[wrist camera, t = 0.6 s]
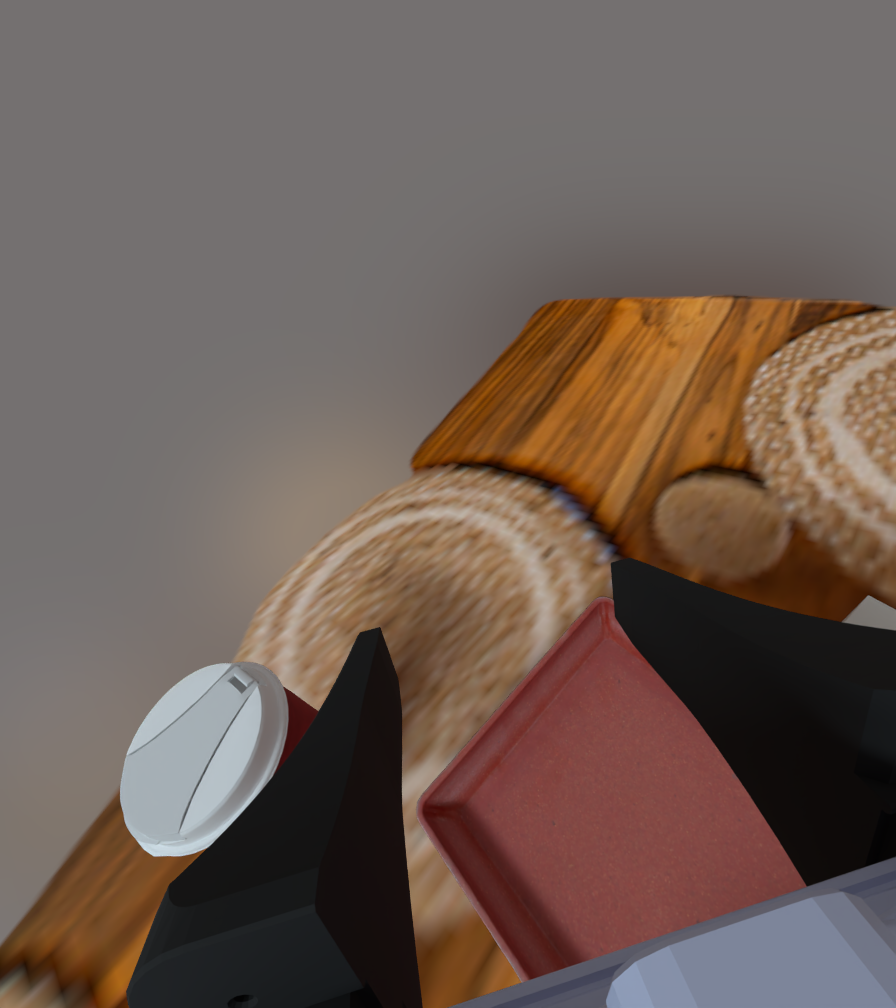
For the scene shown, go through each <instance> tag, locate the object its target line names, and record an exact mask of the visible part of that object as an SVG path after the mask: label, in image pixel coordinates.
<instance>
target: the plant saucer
mask: <svg viewBox="0 0 896 1008" xmlns="http://www.w3.org/2000/svg"><path fill="white" fill-rule="evenodd" d="M416 814H417V819H418V821H419V823H420V825H421V826H422V828H423V829H424V831H425V833H426V834H427V836H428V837H429V839H430V840H431V842H432V843H433V845H434V846H435V848H436V849H437V851H438V852H439V854H440V855H441V857H442V859H443V861H444V862H445V864H446V865H447V867H448V868H449V870H450V871H451V873H452V874H453V876H454V877H455V879H456V881H457V882H458V884H459V885H460V887H461V888H462V890H463V891H464V893H465V894H466V896H467V897H468V899H469V900H470V902H471V904H472V905H473V907H474V909H475V910H476V912H477V913H478V915H479V916H480V917H481V919H482V921H483V922H484V924H485V925H486V927H487V928H488V930H489V931H490V933H491V934H492V936H493V938H494V939H495V941H496V943H497V944H498V946H499V947H500V949H501V950H502V952H503V953H504V955H505V956H506V958H507V959H508V961H509V962H510V964H511V965H512V967H513V969H514V970H515V972H516V974H517V975H518V977H519V979H520V980H521V982H525V981H528V980H531V979H534V978H537V977H540V976H543V975H546V974H549V973H552V972H555V971H558V970H561V969H564V968H567V967H570V966H573V965H576V964H579V963H582V962H585V961H588V960H591V959H594V958H597V957H600V956H603V955H606V954H608V953H611V952H614V951H617V950H620V949H623V948H626V947H629V946H632V945H635V944H638V943H641V942H644V941H647V940H650V939H653V938H656V937H659V936H662V935H665V934H668V933H671V932H674V931H677V930H680V929H683V928H686V927H689V926H692V925H695V924H698V923H701V922H704V921H707V920H710V919H713V918H716V917H718V916H721V915H724V914H727V913H730V912H733V911H736V910H739V909H742V908H745V907H748V906H751V905H754V904H757V903H760V902H763V901H766V900H769V899H772V898H775V897H778V896H781V895H784V894H787V893H790V892H793V891H796V890H799V889H802V888H805V887H807V886H806V884H805V883H804V881H803V880H802V878H801V876H800V875H799V873H798V871H797V870H796V868H795V866H794V865H793V863H792V862H791V860H790V858H789V857H788V855H787V853H786V852H785V850H784V849H783V847H782V845H781V844H780V842H779V840H778V839H777V837H776V836H775V834H774V833H773V831H772V829H771V828H770V826H769V825H768V823H767V822H766V820H765V819H764V817H763V816H762V814H761V812H760V811H759V809H758V808H757V806H756V805H755V803H754V802H753V800H752V799H751V797H750V795H749V794H748V792H747V791H746V789H745V788H744V786H743V785H742V784H741V782H740V781H739V779H738V778H737V776H736V775H735V773H734V772H733V770H732V769H731V767H730V766H729V764H728V763H727V762H726V760H725V759H724V757H723V756H722V754H721V753H720V751H719V750H718V749H717V747H716V746H715V744H714V743H713V742H712V740H711V739H710V737H709V736H708V735H707V733H706V732H705V730H704V729H703V728H702V726H701V725H700V723H699V722H698V721H697V719H696V718H695V717H694V716H693V714H692V713H691V712H690V711H689V709H688V708H687V707H686V706H685V705H684V703H683V702H682V701H681V700H680V699H679V698H678V697H677V695H676V694H675V693H674V692H673V691H672V690H671V688H670V687H669V686H668V685H667V684H666V683H665V682H664V680H663V679H662V678H661V677H660V676H659V675H658V673H657V672H656V671H655V670H654V669H653V668H652V667H651V665H650V664H649V663H648V662H647V661H646V659H645V658H644V657H643V656H642V655H641V654H640V652H639V651H638V650H637V649H636V648H635V646H634V645H633V644H632V642H631V641H630V639H629V638H628V637H627V635H626V634H625V632H624V631H623V629H622V627H621V626H620V624H619V623H618V621H617V620H616V618H615V613H614V600H613V599H611V598H608V597H598V598H596V599H595V600H594V601H592V603H591V604H590V605H589V606H588V607H587V608H586V610H585V611H584V612H583V613H582V614H581V615H580V616H579V617H578V618H577V620H576V621H575V622H574V623H573V624H572V625H571V626H570V627H569V628H568V630H567V631H566V632H565V633H564V634H563V635H562V636H561V637H560V639H559V640H558V641H557V642H556V643H555V644H554V645H553V647H552V648H551V649H550V650H549V651H548V652H547V653H546V654H545V656H544V657H543V658H542V659H541V660H540V661H539V662H538V663H537V664H536V665H535V666H534V667H533V668H532V670H531V671H530V672H529V673H528V675H527V676H526V677H525V678H524V679H523V681H522V682H521V683H520V684H519V685H518V686H517V687H516V688H515V690H514V691H513V692H512V693H511V694H510V695H509V696H508V698H507V699H506V700H505V701H504V702H503V703H502V704H501V706H500V707H499V708H498V709H497V710H496V711H495V712H494V713H493V714H492V716H491V717H490V718H489V719H488V720H487V722H486V723H485V724H484V725H483V726H482V727H481V728H480V729H479V731H478V732H477V733H476V734H475V735H474V736H473V737H472V739H471V740H470V741H469V742H468V743H467V744H466V745H465V746H464V747H463V748H462V749H461V751H460V752H459V753H458V754H457V756H456V757H455V758H454V759H453V760H452V761H451V762H450V763H449V764H448V766H447V767H446V768H445V769H444V770H443V771H442V772H441V773H440V775H439V776H438V777H437V778H436V779H435V780H434V781H433V782H432V784H431V785H430V786H429V787H428V788H427V789H426V791H425V792H424V793H423V794H422V795H421V797H420V798H419V800H418V802H417V811H416Z"/></svg>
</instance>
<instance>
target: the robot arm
mask: <svg viewBox="0 0 896 1008" xmlns="http://www.w3.org/2000/svg"><path fill="white" fill-rule="evenodd" d="M611 573H612V587H613V600H614V613H615V618H616V620H617V621H618V623H619V624H620V626H621V627H622V629H623V631H624V632H625V634H626V635H627V637H628V638H629V639H630V641H631V642H632V644H633V645H634V646H635V648H636V649H637V650H638V651H639V652H640V654H641V655H642V656H643V657H644V658H645V659H646V661H647V662H648V663H649V664H650V665H651V667H652V668H653V669H654V670H655V671H656V672H657V673H658V675H659V676H660V677H661V678H662V679H663V680H664V682H665V683H666V684H667V685H668V686H669V687H670V688H671V690H672V691H673V692H674V693H675V694H676V695H677V697H678V698H679V699H680V700H681V701H682V702H683V703H684V705H685V706H686V707H687V708H688V709H689V711H690V712H691V713H692V714H693V716H694V717H695V718H696V719H697V721H698V722H699V723H700V725H701V726H702V728H703V729H704V730H705V732H706V733H707V735H708V736H709V737H710V739H711V740H712V742H713V743H714V744H715V746H716V747H717V749H718V750H719V751H720V753H721V754H722V756H723V757H724V759H725V760H726V762H727V763H728V764H729V766H730V767H731V769H732V770H733V772H734V773H735V775H736V776H737V778H738V779H739V781H740V782H741V784H742V785H743V786H744V788H745V789H746V791H747V792H748V794H749V795H750V797H751V799H752V800H753V802H754V803H755V805H756V806H757V808H758V809H759V811H760V812H761V814H762V816H763V817H764V819H765V820H766V822H767V823H768V825H769V826H770V828H771V829H772V831H773V833H774V834H775V836H776V837H777V839H778V840H779V842H780V844H781V845H782V847H783V849H784V850H785V852H786V853H787V855H788V857H789V858H790V860H791V862H792V863H793V865H794V866H795V868H796V870H797V871H798V873H799V875H800V876H801V878H802V880H803V881H804V883H805V884H806V886H807V887H805V888H802V889H799V890H796V891H793V892H790V893H787V894H784V895H781V896H778V897H775V898H772V899H769V900H766V901H763V902H760V903H757V904H754V905H751V906H748V907H745V908H742V909H739V910H736V911H733V912H730V913H727V914H724V915H721V916H718V917H716V918H713V919H710V920H707V921H704V922H701V923H698V924H695V925H692V926H689V927H686V928H683V929H680V930H677V931H674V932H671V933H668V934H665V935H662V936H659V937H656V938H653V939H650V940H647V941H644V942H641V943H638V944H635V945H632V946H629V947H626V948H623V949H620V950H617V951H614V952H611V953H608V954H606V955H603V956H600V957H597V958H594V959H591V960H588V961H585V962H582V963H579V964H576V965H573V966H570V967H567V968H564V969H561V970H558V971H555V972H552V973H549V974H546V975H543V976H540V977H537V978H534V979H531V980H528V981H525V982H522V983H519V984H516V985H513V986H510V987H507V988H504V989H501V990H499V991H496V992H493V993H490V994H487V995H484V996H481V997H478V998H475V999H472V1000H469V1001H466V1002H463V1003H460V1004H457V1005H454V1006H451V1007H448V1008H896V630H889V629H882V628H875V627H868V626H861V625H855V624H849V623H844V622H838V621H833V620H828V619H823V618H818V617H813V616H808V615H803V614H798V613H794V612H790V611H786V610H782V609H778V608H774V607H770V606H766V605H763V604H759V603H755V602H752V601H748V600H745V599H742V598H738V597H735V596H732V595H729V594H726V593H723V592H720V591H717V590H714V589H711V588H709V587H706V586H703V585H700V584H698V583H695V582H692V581H690V580H687V579H684V578H682V577H679V576H677V575H674V574H671V573H669V572H666V571H664V570H661V569H659V568H656V567H654V566H651V565H649V564H646V563H643V562H641V561H638V560H635V559H632V558H627V559H623V560H620V561H616V562H612V563H611ZM126 993H127V1000H128V1005H129V1007H130V1008H423V1006H422V998H421V990H420V981H419V973H418V964H417V956H416V947H415V938H414V928H413V919H412V910H411V900H410V890H409V880H408V869H407V859H406V848H405V836H404V824H403V812H402V708H401V698H400V690H399V681H398V677H397V674H396V671H395V668H394V665H393V662H392V660H391V657H390V654H389V651H388V648H387V645H386V642H385V640H384V637H383V634H382V631H381V628H380V627H378V628H375V629H371V630H368V631H364V632H360V633H359V635H358V636H357V639H356V641H355V643H354V645H353V647H352V649H351V651H350V654H349V656H348V658H347V660H346V662H345V664H344V666H343V668H342V670H341V672H340V674H339V676H338V678H337V680H336V682H335V683H334V685H333V687H332V689H331V691H330V693H329V695H328V696H327V698H326V700H325V701H324V703H323V705H322V707H321V708H320V710H319V712H318V713H317V715H316V717H315V718H314V720H313V722H312V723H311V725H310V726H309V728H308V729H307V731H306V732H305V734H304V735H303V737H302V738H301V740H300V741H299V743H298V744H297V746H296V747H295V748H294V750H293V751H292V753H291V754H290V755H289V757H288V758H287V759H286V760H285V762H284V763H283V764H282V765H281V767H280V768H279V769H278V770H277V772H276V773H275V774H274V775H273V777H272V778H271V779H270V780H269V782H268V783H267V784H266V785H265V787H264V788H263V789H262V790H261V791H260V793H259V794H258V795H257V796H256V797H255V798H254V799H253V801H252V802H251V803H250V804H249V805H248V806H247V807H246V808H245V810H244V811H243V812H242V813H241V814H240V815H239V816H238V817H237V818H236V819H235V820H234V821H233V822H232V824H231V825H230V826H229V827H228V828H227V829H226V830H225V831H224V832H223V833H222V834H221V835H220V836H219V837H218V838H217V839H216V840H215V841H214V842H213V843H212V844H211V845H210V846H209V847H208V848H207V849H206V850H205V851H204V852H203V853H202V854H201V855H200V856H199V857H198V858H197V859H196V860H195V861H194V862H193V863H192V864H190V865H189V866H188V867H187V868H186V869H185V870H184V871H183V872H182V873H181V874H180V875H179V876H178V877H177V878H176V879H175V880H174V881H173V882H172V883H170V884H169V886H168V889H167V891H166V893H165V895H164V898H163V900H162V902H161V904H160V907H159V909H158V911H157V913H156V916H155V918H154V921H153V924H152V926H151V929H150V931H149V934H148V937H147V939H146V942H145V944H144V947H143V949H142V952H141V955H140V957H139V960H138V962H137V965H136V967H135V970H134V973H133V975H132V978H131V980H130V983H129V986H128V988H127V991H126Z"/></svg>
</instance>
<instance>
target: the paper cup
mask: <svg viewBox="0 0 896 1008" xmlns="http://www.w3.org/2000/svg"><path fill="white" fill-rule="evenodd" d="M318 712H319V711H317V710H316V709H314V708H313V707H311V706H310V705H309V704H307V703H306V702H305V701H303V700H302V699H301V698H299V697H298V696H296V695H295V694H294V693H292V692H291V691H289V690H288V689H286V688H285V687H283V685H282V684H281V682H280V680H279V679H278V677H277V676H276V675H275V674H274V673H273V672H272V671H271V670H269V669H268V668H266V667H265V666H263V665H260V664H257V663H253V662H237V663H221V664H215V665H212V666H207V667H205V668H202V669H200V670H198V671H196V672H194V673H192V674H191V675H189V676H187V677H186V678H184V679H183V680H181V681H180V682H179V683H177V684H176V685H175V686H174V687H173V688H171V690H169V691H168V692H167V693H166V694H165V695H164V696H163V697H162V698H161V699H160V700H159V702H158V703H157V704H156V705H155V706H154V708H153V709H152V710H151V711H150V713H149V714H148V715H147V717H146V718H145V720H144V721H143V723H142V724H141V726H140V728H139V729H138V731H137V733H136V735H135V737H134V739H133V741H132V743H131V745H130V747H129V750H128V752H127V757H126V759H125V764H124V769H123V774H122V780H121V787H120V801H121V805H122V810H123V812H124V819H125V823H126V825H127V828H128V829H129V831H130V833H131V834H132V835H133V836H134V837H135V839H137V841H138V843H139V844H140V845H141V846H142V848H143V849H144V850H145V851H147V852H148V853H150V854H151V855H152V856H184V855H189V854H193V853H196V852H198V851H201V850H203V849H206V848H208V847H209V846H210V845H211V844H212V843H213V842H214V841H215V840H216V839H217V838H218V837H219V836H220V835H221V834H222V833H223V832H224V831H225V830H226V829H227V828H228V827H229V826H230V825H231V824H232V822H233V821H234V820H235V819H236V818H237V817H238V816H239V815H240V814H241V813H242V812H243V811H244V810H245V808H246V807H247V806H248V805H249V804H250V803H251V802H252V801H253V799H254V798H255V797H256V796H257V795H258V794H259V793H260V791H261V790H262V789H263V788H264V787H265V785H266V784H267V783H268V782H269V780H270V779H271V778H272V777H273V775H274V774H275V773H276V772H277V770H278V769H279V768H280V767H281V765H282V764H283V763H284V762H285V760H286V759H287V758H288V757H289V755H290V754H291V753H292V751H293V750H294V748H295V747H296V746H297V744H298V743H299V741H300V740H301V738H302V737H303V735H304V734H305V732H306V731H307V729H308V728H309V726H310V725H311V723H312V722H313V720H314V718H315V717H316V715H317V713H318Z"/></svg>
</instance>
